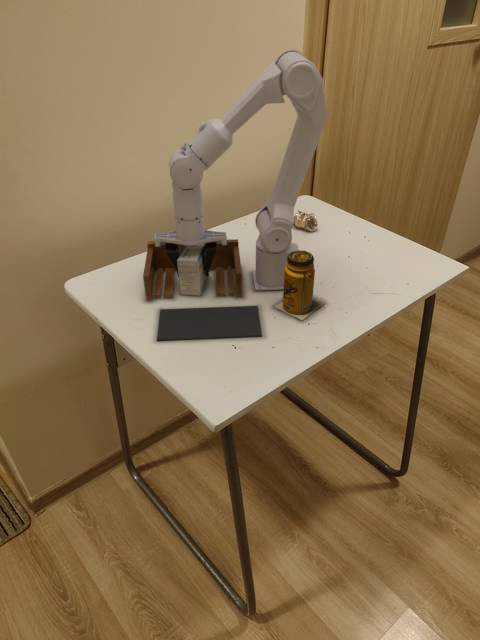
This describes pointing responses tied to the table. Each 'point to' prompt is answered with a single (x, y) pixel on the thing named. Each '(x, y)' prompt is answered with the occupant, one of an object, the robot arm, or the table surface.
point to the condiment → (299, 286)
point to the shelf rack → (161, 262)
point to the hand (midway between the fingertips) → (193, 274)
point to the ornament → (305, 220)
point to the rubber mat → (209, 323)
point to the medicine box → (192, 269)
